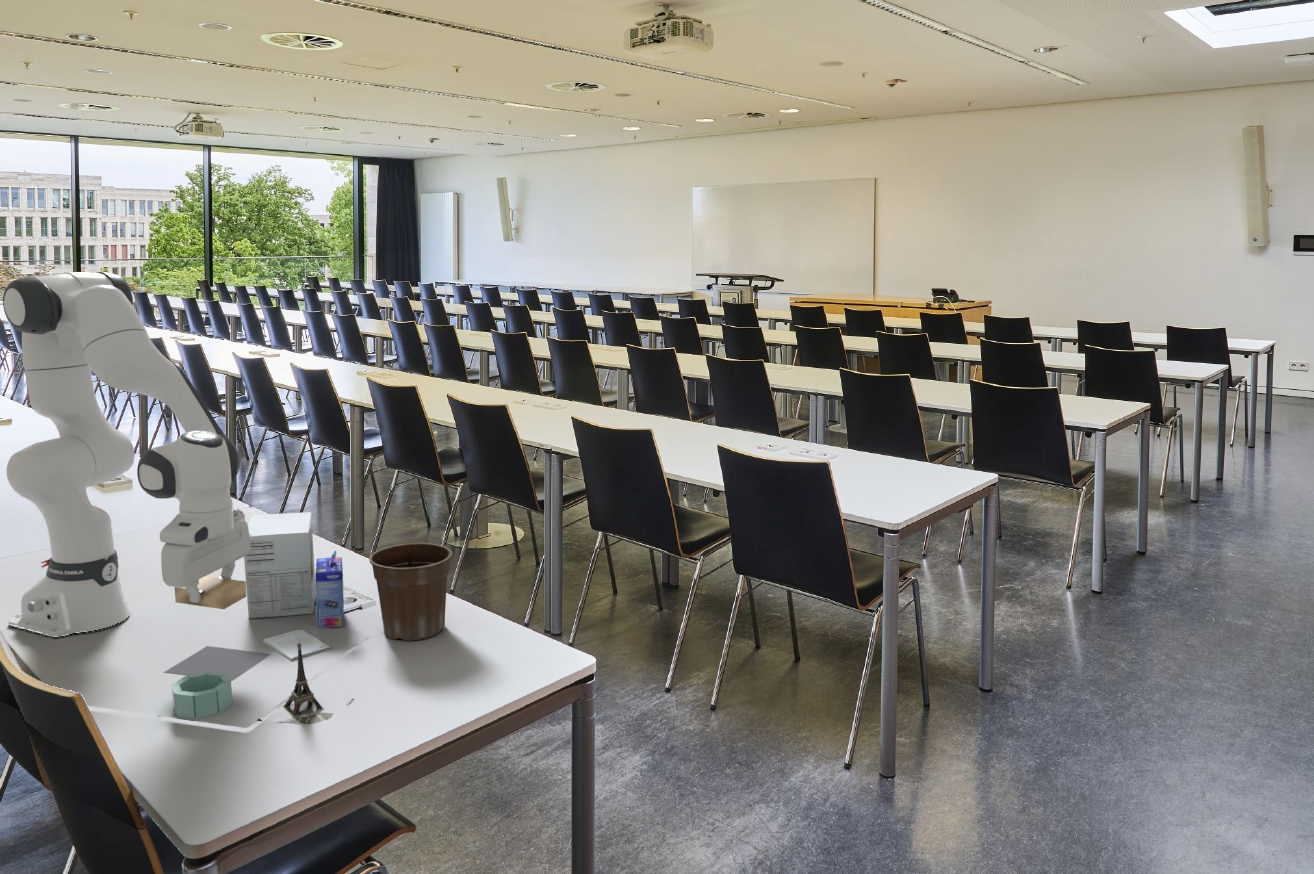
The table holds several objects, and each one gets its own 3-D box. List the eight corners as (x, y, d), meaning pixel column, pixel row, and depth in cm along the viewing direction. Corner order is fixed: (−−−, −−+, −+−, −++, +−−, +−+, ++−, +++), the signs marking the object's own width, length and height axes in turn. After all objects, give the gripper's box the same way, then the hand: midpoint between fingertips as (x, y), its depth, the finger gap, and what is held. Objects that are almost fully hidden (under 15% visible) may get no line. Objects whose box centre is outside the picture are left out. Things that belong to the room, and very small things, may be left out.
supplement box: (314, 614, 210) (309, 532, 206) (247, 620, 206) (241, 537, 202) (317, 586, 226) (312, 510, 222) (254, 591, 222) (249, 514, 218)
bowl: (162, 716, 165) (160, 691, 164) (198, 693, 174) (196, 669, 173) (209, 723, 163) (206, 697, 162) (242, 699, 172) (240, 675, 171)
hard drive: (331, 646, 191) (302, 627, 200) (290, 658, 186) (262, 638, 194) (332, 654, 192) (302, 635, 200) (291, 666, 186) (262, 646, 194)
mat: (164, 675, 180) (163, 672, 180) (207, 648, 192) (207, 645, 192) (231, 684, 177) (231, 680, 177) (271, 656, 189) (271, 653, 189)
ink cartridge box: (345, 627, 203) (341, 560, 200) (316, 630, 202) (312, 562, 199) (344, 609, 212) (341, 545, 209) (317, 612, 211) (314, 547, 208)
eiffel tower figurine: (244, 724, 164) (238, 648, 162) (273, 696, 174) (268, 624, 172) (331, 729, 163) (326, 653, 160) (355, 701, 173) (351, 629, 170)
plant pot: (359, 627, 203) (355, 552, 200) (429, 608, 214) (427, 537, 210) (395, 652, 191) (392, 573, 188) (468, 631, 202) (467, 556, 198)
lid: (175, 602, 180) (174, 586, 179) (199, 590, 186) (198, 574, 186) (224, 609, 178) (223, 593, 177) (246, 596, 184) (245, 581, 183)
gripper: (228, 504, 189) (231, 572, 192) (152, 535, 170) (157, 611, 173) (257, 507, 188) (260, 576, 191) (184, 539, 169) (189, 615, 171)
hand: (211, 593), depth 182 cm, fingers closed on lid, 6 cm apart
